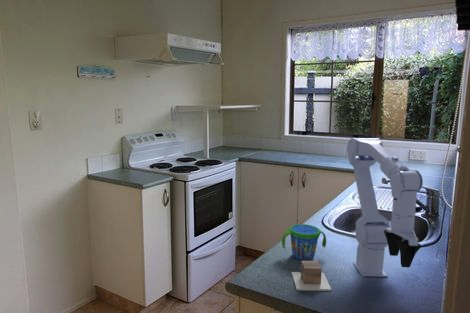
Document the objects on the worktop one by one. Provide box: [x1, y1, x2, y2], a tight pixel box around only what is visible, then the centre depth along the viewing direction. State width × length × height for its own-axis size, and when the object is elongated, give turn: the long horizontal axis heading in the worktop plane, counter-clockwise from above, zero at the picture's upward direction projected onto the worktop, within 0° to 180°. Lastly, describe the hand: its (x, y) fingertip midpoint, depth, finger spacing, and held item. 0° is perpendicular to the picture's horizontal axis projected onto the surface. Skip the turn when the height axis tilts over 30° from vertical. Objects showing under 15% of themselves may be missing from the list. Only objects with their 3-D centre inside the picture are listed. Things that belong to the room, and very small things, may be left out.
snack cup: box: [281, 223, 327, 261], centre depth 128 cm, size 16×10×10 cm
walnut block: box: [300, 260, 323, 284], centre depth 111 cm, size 5×5×5 cm
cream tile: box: [291, 271, 332, 292], centre depth 111 cm, size 10×10×1 cm
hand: (399, 260), depth 103 cm, fingers open, 7 cm apart
